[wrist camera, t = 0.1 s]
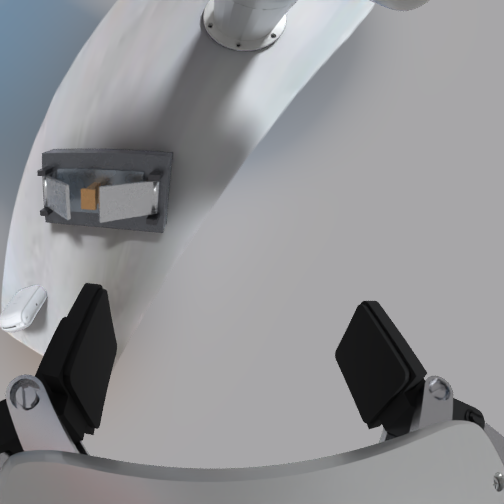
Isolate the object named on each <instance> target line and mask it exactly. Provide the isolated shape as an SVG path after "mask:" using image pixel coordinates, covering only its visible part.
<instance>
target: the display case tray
mask: <svg viewBox="0 0 504 504" xmlns="http://www.w3.org/2000/svg"><path fill="white" fill-rule="evenodd" d="M172 156H173V153H171V152H158V151H143V150H123V149H53V150H50V151H47V152H45V153H42V169H40V170H38V176H42V177H43V176H50V177H52V178H55V179H57V180H59V181H61V182H64V183H66V184H68V185H69V197H70V215H71V219H69V220H66V219H65V218H63V217H62V216H60V215H59V214H57V213H56V212H54V211H53V210H51V209H50V208H49V207H47V206H45V205H44V208H43V209H42V210H41V211H40V215H41V216H45V219H46V222H49V223H61V224H72V225H84V226H95V227H106V228H117V229H128V230H139V231H149V232H160V233H163V232H164V229H165V226H166V223H167V209H168V196H169V185H170V175H171V165H172ZM141 181H160V183H159V196H158V212H157V214H151V215H145V216H138V217H132V218H126V219H120V220H114V221H108V222H102V223H100V222H99V186H105V185H113V184H122V183H131V182H141ZM43 197H44V190H43Z"/></svg>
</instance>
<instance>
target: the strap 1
mask: <svg viewBox="0 0 504 504" xmlns="http://www.w3.org/2000/svg"><path fill="white" fill-rule="evenodd" d="M43 190H44V205H45V206H47V207H49V208H50V209H51V210H53V211H54V212H56V213H57V214H59V215H60V216H62V217H63V218H65V219H66V220H69V219H71V215H70V197H69V185H68V184H66V183H64V182H61V181H59V180H57V179H55V178H52V177H50V176H43Z"/></svg>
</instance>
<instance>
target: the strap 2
mask: <svg viewBox="0 0 504 504" xmlns="http://www.w3.org/2000/svg"><path fill="white" fill-rule="evenodd" d="M159 183H160V181H141V182H131V183H122V184H113V185H105V186H99V222H100V223H102V222H108V221H114V220H120V219H126V218H132V217H138V216H145V215H151V214H157V212H158V196H159Z"/></svg>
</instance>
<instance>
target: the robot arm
mask: <svg viewBox="0 0 504 504" xmlns="http://www.w3.org/2000/svg"><path fill="white" fill-rule="evenodd" d="M370 1H372V2H374V3H377V4H379V5H381V6H384V7H387V8H389V9H393V10H399V11H408V10H412V9H416V8H418V7H420V6H422V5H423V4H425V3H426V2H428V1H429V0H370ZM296 2H297V0H209V1H208V3H207V4H206V7H205V9H204V14H203V22H204V26H205V29H206V31H207V33H208V34H209V35H210V36H211V38H212V39H213V40H215V41H216V42H217V43H219V44H220V45H222V46H224V47H227V48H229V49H233V50H238V51H253V50H258V49H262V48H264V47H267V46H269V45H270V44H272V43H273V42H275V41H276V40H277V39H278V38H279V37H280V35H281V34H282V33H283V31H284V29H285V26H286V22H287V18H286V13H287V12H288V11H289V10H290V8H291V7H292V6H293V5H294V4H295V3H296ZM209 26H212V27H211V28H209ZM271 36H273V37H274V38H272V37H271ZM237 45H240V47H237ZM116 351H117V343H116V338H115V333H114V328H113V323H112V318H111V312H110V307H109V301H108V294H107V291H106V290H105V289H103V288H102V286H101V285H98V284H90V283H86V284H85V285H84V286H83V288H82V290H81V292H80V294H79V295H78V297H77V299H76V301H75V303H74V304H73V306H72V308H71V310H70V312H69V314H68V316H67V317H64V318H62V320H61V321H60V323H59V325H58V327H57V329H56V331H55V333H54V335H53V337H52V339H51V341H50V343H49V346H48V348H47V350H46V352H45V354H44V356H43V359H42V361H41V363H40V366H39V368H38V370H37V373H36V375H35V377H34V376H32V375H21V376H18V377H16V378H15V379H13V380H12V381H11V382H10V384H9V385H8V387H7V390H6V399H5V400H2V401H0V504H504V437H503V436H502V435H501V434H499V433H498V432H497V431H496V430H494V429H493V428H492V427H491V426H490V425H488V424H487V423H486V424H485V421H484V417H483V415H482V413H481V412H480V411H479V410H478V409H476V408H474V407H472V406H470V405H468V404H465V403H463V402H461V401H459V400H457V399H454V398H453V390H452V388H451V386H450V385H449V383H448V382H447V381H446V380H445V379H443V378H441V377H439V376H431V377H428V378H427V380H426V381H425V380H424V377H425V375H426V374H427V372H426V370H425V369H424V367H423V366H422V364H421V363H420V361H419V360H418V358H417V357H416V355H415V354H414V352H413V351H412V349H411V348H410V346H409V345H408V343H407V342H406V340H405V339H404V338H403V336H402V335H401V333H400V332H399V331H398V329H397V328H396V326H395V325H394V323H393V322H392V321H391V319H390V318H389V317H388V315H387V314H386V312H385V311H384V310H383V308H382V307H381V306H380V304H379V303H378V302H377V301H363V302H362V303H361V304H360V305H359V306H358V307H357V309H356V311H355V313H354V315H353V317H352V319H351V321H350V324H349V326H348V328H347V330H346V332H345V334H344V336H343V338H342V340H341V342H340V344H339V346H338V348H337V350H336V353H335V358H336V361H337V362H338V365H339V367H340V369H341V372H342V374H343V376H344V378H345V380H346V383H347V385H348V387H349V390H350V392H351V394H352V397H353V398H354V401H355V403H356V406H357V408H358V410H359V413H360V415H361V417H362V419H363V421H364V422H365V423H367V425H368V428H369V429H371V428H375V427H378V426H380V425H381V424H382V425H383V427H384V429H383V432H382V435H381V438H380V441H379V443H378V444H375V445H371V446H368V447H365V448H361V449H358V450H354V451H350V452H346V453H342V454H338V455H333V456H328V457H324V458H319V459H314V460H308V461H302V462H295V463H288V464H281V465H272V466H262V467H249V468H231V469H230V468H229V469H197V468H176V467H164V466H154V465H144V464H136V463H129V462H123V461H116V460H111V459H106V458H100V457H94V456H90V455H89V453H88V451H87V450H86V448H85V447H84V445H83V444H82V442H81V441H82V440H83V437H84V433H86V434H91V435H93V434H94V429H95V428H99V426H100V421H101V416H102V411H103V406H104V401H105V397H106V392H107V387H108V383H109V379H110V375H111V371H112V367H113V363H114V359H115V356H116Z"/></svg>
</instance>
